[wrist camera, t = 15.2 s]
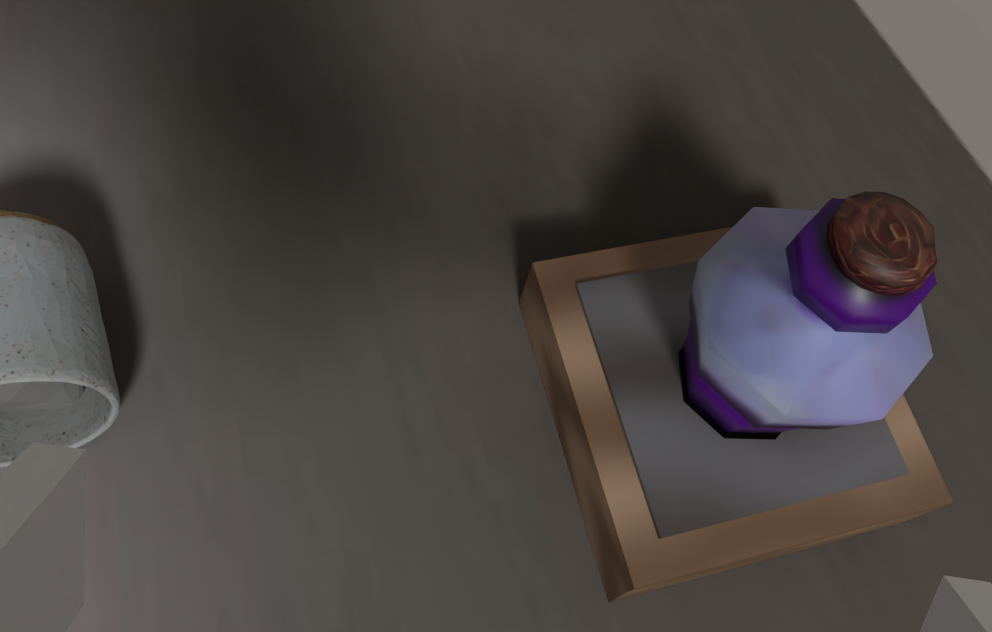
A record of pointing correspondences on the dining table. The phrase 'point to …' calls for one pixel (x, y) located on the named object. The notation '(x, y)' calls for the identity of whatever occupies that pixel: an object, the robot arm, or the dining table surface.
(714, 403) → the potion bottle
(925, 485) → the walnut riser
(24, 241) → the ceramic mug
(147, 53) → the dining table surface
